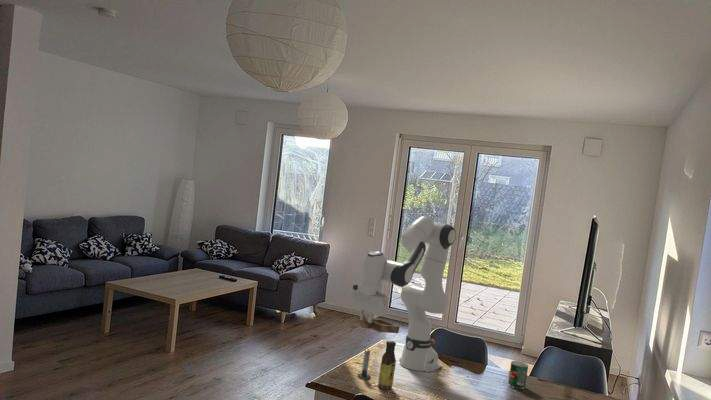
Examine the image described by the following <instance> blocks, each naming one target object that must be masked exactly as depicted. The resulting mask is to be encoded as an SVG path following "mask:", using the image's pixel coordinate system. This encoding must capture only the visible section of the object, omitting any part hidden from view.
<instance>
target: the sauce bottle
mask: <svg viewBox="0 0 711 400" xmlns="http://www.w3.org/2000/svg"><path fill="white" fill-rule="evenodd" d="M385 344H386V345H385V352H384V353H383V354H382V355H381V362H380V369H379V373H378V380H377V381H378V384H377V386H378V388H379V389H382V390H391V389H392V388H393V384H394V377H395V372H396V371H395V370H396V363H397V359H396V355H395V354H396V353H395V351H396V350H395V349H396V348H395V347H396V345H397V343H396V341H393V340H387V341H386V343H385Z"/></svg>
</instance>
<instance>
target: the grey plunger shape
mask: <svg viewBox="0 0 711 400" xmlns="http://www.w3.org/2000/svg"><path fill="white" fill-rule="evenodd" d="M370 355H371V350H370V349H365V350H364V354H363V362H362V367H361V368H362V369H361V372H360V373H357V374H356V376H357V378H358V377H359V379H360V378H361V380H371V375H370V374H368V370H369V364H370V363H369V362H370V357H371V356H370Z"/></svg>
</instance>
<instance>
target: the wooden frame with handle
mask: <svg viewBox="0 0 711 400" xmlns="http://www.w3.org/2000/svg"><path fill="white" fill-rule="evenodd" d="M367 318H368V317H366V318H365V317H363V318H362V320H361V319H359V323H358V324H359V325H360V328H364V329H371V330H374V331H375V332H378V333H388V334H389V333H391V334H399V331H400V326H399V325H397V324H394V323H391V322H389V321H386V320H384V319H381V318H375V317H373V319H372V322H371V323H368V322H367Z"/></svg>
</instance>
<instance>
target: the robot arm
mask: <svg viewBox="0 0 711 400" xmlns="http://www.w3.org/2000/svg"><path fill="white" fill-rule="evenodd" d="M456 237H457V232H456V229H455V227H454V226H453V225H450V224H446V223H443V222H440V221H433V219H432V218H430V217H429V216H423V215H422V216H420V217H418V218H417V219H415V220H414V221H412V222H411V223H410V224H409V225H408V226H407V227H406V228H405V230H404V231H403V232H402V235H401V244H402V246H403V247H404V248H405V250H407V252H409V253H410V254H409V255H408V257H407V259H406V260H405V261H402V262H399V261H395V260H391V259H388V258H387V257H386V256H385V253H384V252H381V251H377V250H376V251H375V250H374V251H368V252H367V253H366V255H365V258H364V261H363V265H362V277H361V281H360V283H354V284H352V285H351V289H352V290H351V291H350V295H349V302H348V303H349V304H350V306H352V307H354V308H356V309H358V310H359V311H358V313H359V315H360V319H361V320H362V318H363V317H365V318H367V322H368V323H371V322H372V319H373V318H375V316H379V317H385V316H387V313H388V296H387V295H386V294H385V293H382V291H381V290H382V284H383V283H382V282H385V283H388V284H393V285H395V286H397V287H399V288H402V289H401V291H400V298H401V301H402V303H403V304H404V306H405V308H406V311H407V316H408V329H407V335H406V336H405V344H404V345H403V350H402V353H401V357H399V364H400V365H401V367H404V368H406V369H409V370H413V371H418V372H424V371H425V373H431V372H434V371H435V370H438V369H441V368H442V367H443V364H442V363H441V362H439V354H438V353H437V351H436V350H435V349H434V348H433V347H432V344H433V345H434V344H435V343H436V340H435V339H433V338H431V334H432V327H433V326H432V325H433V324H432V322H431V320H430V319H429V318H428V317H427V314H426V313H430V314H438V315H441V314H443V313H445V312H446V311H447V309H448V307H449V299H448V296H447V295H446V293H445V291H444V287H443V277H444V272H445V268H446V264H447V261H448V256H449V248H450V247H451V246H452V245H453V244H454V242H455V241H456V239H457V238H456ZM426 244H428V246H427V245H426ZM426 246H427V247H426ZM422 259H423V261H422ZM421 261H422V264H421V263H420V262H421ZM420 264H421V267H420V273H419V274H420V276H421V277H422V278H423V279H424V282H425V286H422V285H417V284H410V282H412V280H413V276H414V273H415V271H416V270H417V268H418V266H419V265H420ZM365 312H368V313H369V314H368V315H369V316H368V317H367V316H366V315H365ZM360 319H359V320H360ZM440 367H441V368H440ZM433 370H434V371H433ZM430 371H431V372H430Z"/></svg>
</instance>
